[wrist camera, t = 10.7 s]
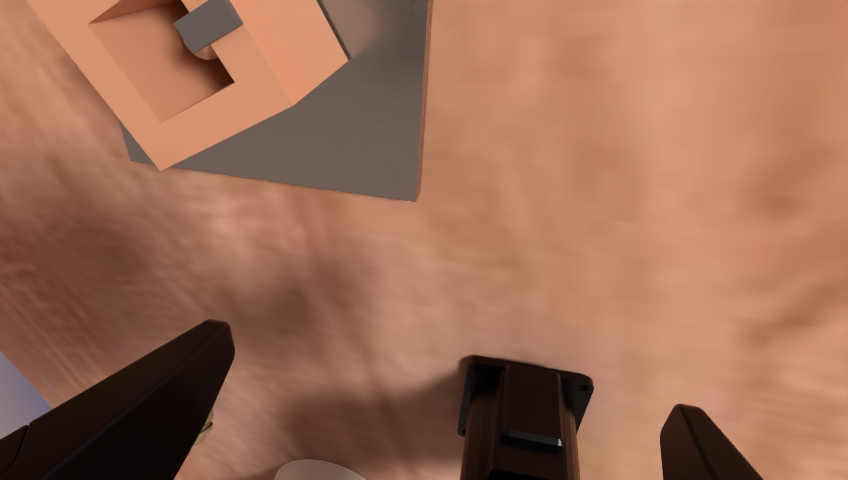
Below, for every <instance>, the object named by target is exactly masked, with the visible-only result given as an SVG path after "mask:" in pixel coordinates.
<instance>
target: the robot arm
mask: <svg viewBox="0 0 848 480" xmlns="http://www.w3.org/2000/svg"><path fill="white" fill-rule="evenodd" d="M234 355H235V347H234V342H233V338H232V333H231V329H230V325H229V324H228V323H227V322H224V321H218V320H213V319H209V320H206V321H204V322H202V323H201V324H199V325H197V326H195V327H194V328H192V329H190V330H188V331H187V332H185V333H183V334H182V335H180V336H178V337H176V338H175V339H173V340H171V341H170V342H168V343H166V344H164V345H163V346H161V347H159V348H157V349H156V350H154V351H152V352H151V353H149V354H147V355H145V356H144V357H142V358H140V359H139V360H137V361H135V362H133V363H132V364H130V365H128V366H126V367H125V368H123V369H121V370H120V371H118V372H116V373H114V374H113V375H111V376H109V377H107V378H106V379H104V380H102V381H101V382H99V383H97V384H95V385H94V386H92V387H90V388H89V389H87V390H85V391H83V392H82V393H80V394H78V395H76V396H75V397H73V398H71V399H70V400H68V401H66V402H64V403H63V404H61V405H59V406H58V407H56V408H54V409H52V410H51V411H49V412H47V413H45V414H44V415H42V416H40V417H39V418H37V419H35V420H33V421H32V422H30V424H29V426H28V425H25V426H23V427H21V428H19V429H18V430H16V431H14V432H12V433H11V434H9V435H7V436H6V437H4V438H2V439H0V480H174V478H175V476H176V475H177V473H178V471H179V469H180V468H181V466H182V464H183V462H184V461H185V459H186V457H187V455H188V454H189V452H190V450H191V448H192V447H193V445H194V443H195V441H196V440H197V438H198V436H199V434H200V432H201V431H202V429H203V427H204V425H205V423H206V421H207V419H208V416H209V414H210V412H211V410H212V407H213V405H214V403H215V401H216V398H217V396H218V394H219V391H220V389H221V387H222V385H223V382H224V380H225V378H226V376H227V373H228V371H229V369H230V366H231V364H232V362H233V359H234ZM477 366H480V367H477ZM593 390H594V386H593V381H592V379H591V378H590V377H588V376H584V375H578V374H573V373H567V372H561V371H556V370H550V369H544V368H539V367H533V366H528V365H522V364H516V363H511V362H505V361H499V360H494V359H488V358H482V357H473V358H471V359H470V360H469V363H468V369H467V375H466V381H465V387H464V393H463V400H462V406H461V412H460V418H459V424H458V434H459V435H460V436H462V437H465V443H464V451H463V459H462V467H461V475H460V480H580V470H579V459H578V448H577V436H576V434H577V431H578V429H579V426H580V424H581V421H582V418H583V416H584V413H585V411H586V408H587V406H588V403H589V400H590V398H591V395H592V393H593ZM660 447H661V458H662V469H663V480H764V479H763V478H762V477H761V476H760V475H759V474H758V473H757V471H756V470H755V469H754V468H753V467H752V466H751V465H750V463H749V462H748V461H747V460H746V459H745V458H744V456H743V455H742V454H741V453H740V452H739V451H738V450H737V448H736V447H735V446H734V445H733V444H732V443H731V442H730V440H729V439H728V438H727V437H726V436H725V435H724V434H723V432H722V431H721V430H720V429H719V428H718V427H717V425H716V424H715V423H714V422H713V421H712V420H711V419H710V417H709V416H708V415H707V414H706V413H705V412H704V411H703V410H702V409H701V408H699V407H696V406H691V405H685V404H677V405H675V406H674V408H673V409H672V411H671V413H670V415H669V417H668V418H667V420H666V422H665V424H664V426H663V428H662V430H661V434H660Z"/></svg>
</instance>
